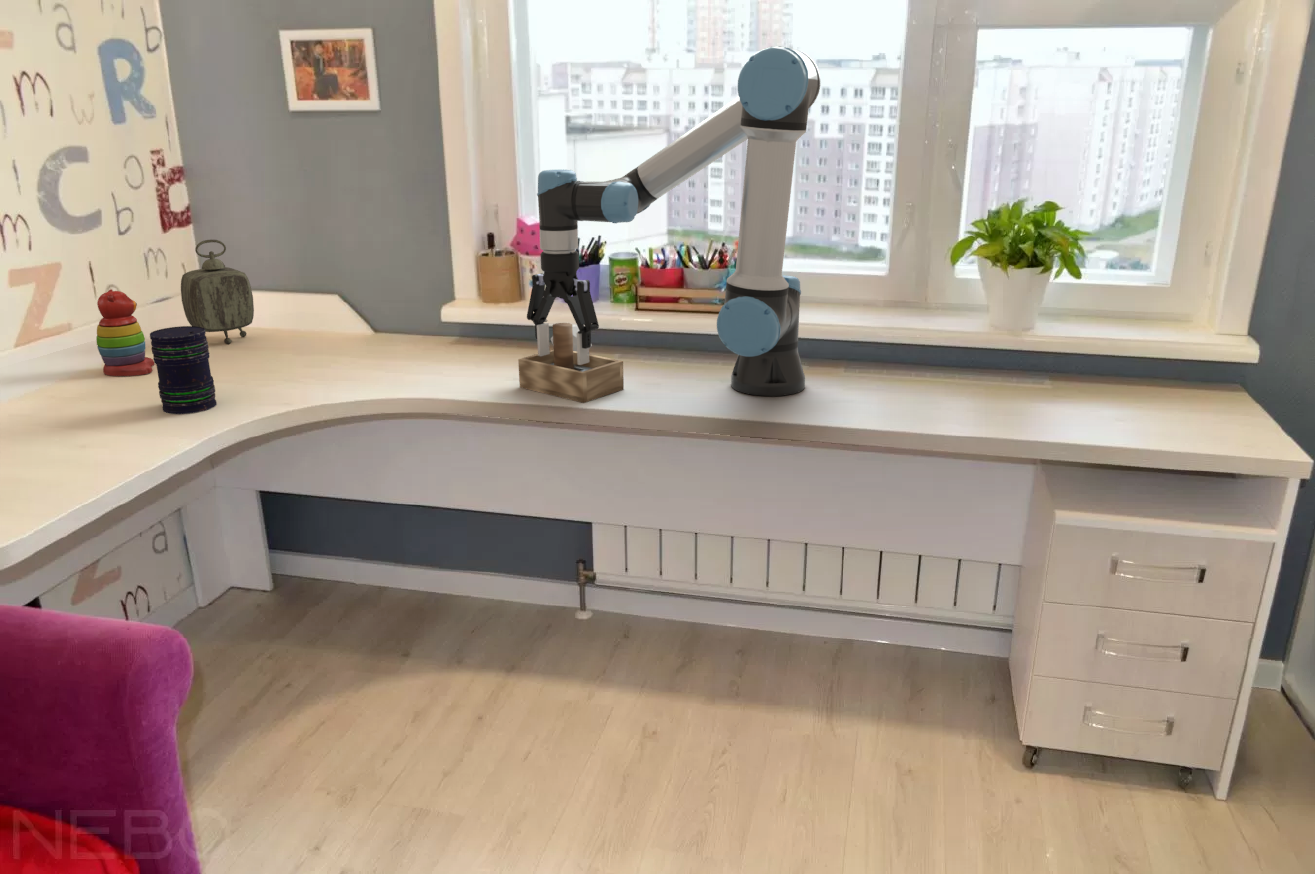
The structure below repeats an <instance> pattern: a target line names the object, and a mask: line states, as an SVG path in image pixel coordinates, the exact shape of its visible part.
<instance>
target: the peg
mask: <svg viewBox="0 0 1315 874" xmlns="http://www.w3.org/2000/svg"><path fill="white" fill-rule="evenodd" d="M572 324H573V323H570V322H568V323H567V322H557V323H553V324H552V336H553V344H552V347H553V349H552V350H554V365H555V366H560V367H564V368H569V369H573V370H574V360H573V330H572Z"/></svg>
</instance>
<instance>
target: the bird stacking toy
mask: <svg viewBox="0 0 1315 874" xmlns="http://www.w3.org/2000/svg"><path fill="white" fill-rule="evenodd" d="M96 304H97V309H98V311H99V313H100V315H101V316H102V318H101V319H99V322H98V324H97V327H96V346H97V351H98V353H99V355H100V358H101V359H102V362H103V363H104V365H103V369H102V372H103V374H104V375H106V376H110V377H111V376H112V377H134V376H135V377H136V376H145V375H148V374H151V373H152V372H153V368H152V367H153V366H155V363H154V360H153V358H152V357H147V356H146V348H147V347H146V341H145V340H146V338H145V335H144V332H143V330H142V328H141V325H140V323H139V321H138V319H137V318H136V317H135V316H134V315H133V314H134V312H135V311H136V310H137V306H138V304H137V301H136V300H134V299H131V298H130V297H129V296H128V295H127V294H126V293H124V292H123V291H120V290H113V289H111V288H110V289H108V291H106V292H103V294H101V295H100V296H99V297H98V299H97V303H96Z"/></svg>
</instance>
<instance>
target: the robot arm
mask: <svg viewBox="0 0 1315 874" xmlns="http://www.w3.org/2000/svg"><path fill="white" fill-rule="evenodd" d="M821 83H822V82H821V74H820V71H819V68H818V65H817V64H816V62H815V61H814V60H813V58H811V56H809V55H808V54H807V53H806V52H804V51H801V50H798V49H794V48H793V49H792V48H789V47H786V46H785V47H783V46H769V47H767V48H764V49H760V50H759V51H757V52H755V53H754V54H753V55H751V56H750V57H749V58H748V59H747V60H746V61H745V62H744V64H743V66H742V67H741V70H740V72H739V75H738V79H737V93H738V94H737V95H738V96H737V97H736V98H734V99H733V100H732V101H729V102H728V103H727V104H725V105H724V106H723V107H721V108H720V109H718V110H717V111H715V112H714V113H713V114H711V115H710V116H708V117H707V118H705V119H704V120H702V121H701V122H699V123H698V124H697V125H695V126H694V127H692V128H691V129H690V130H688V131H687V132H685V133H684V134H683V135H681V136H680V137H678V138H676V139H674V141H672V142H671V143H669V144H667V146H665V147H664V148H662V149H661V150H660V151H657V152H656V153H655V154H653V155H652V156H651V157H649V158H648V159H646V160H645V161H644V162H642V163H641V164H639V165H638V166H637V167H635V168H634V169H632V170H630V171H629V172H628V173H625V174H624V175H623V176H622V177H619V178H615V179H611V180H610V179H609V180H605V181H582V180H578V178H577V174H576V172H575V171H574V170H572V169H546V170H542V171H541V172H539V173H538V175H537V176H538V177H537V193H536V196H537V201H538V203H537V205H538V219H539V220H538V221H539V223H538V224H539V249H540V250H542V251H541V253H540V269H541V271H542V273H538V274H532V275H531V283H532V286H531V287H532V288H531V292H530V298H529V303H528V308H527V312H526V313H527V314H526V319H527V320H528V321H531V322H532V323H533V324H534V333H535V334H534V335H535V336H534V337H535V339H536V340H537V343H536V344H537V354H538V356H544V355H548V354H550V350H551V349H550V327H549V326H550V325H549V321H548V319H547V318H548V316H549V313H550V312H551V310H552V307H553V304H554V302H555V300H556V298H559V299H563V301H564V303H565V304H567V306H568V309H569V310H570V312H571V315H572V318H573V320H574V321H575V325H577V326H578V328H579V330H580V331H578V332H577V362H578V365H582V364H585V363H589V354H590V349H591V347H592V346H591V344H592V337H591V335H592V331H595V330H598V329H599V327H600V325H599V321H598V317H597V314H596V310H595V305H594V302H593V297H592V295H591V283H590V280H589V279H584V280H582V279H579V278H578V276H577V275H578V274H577V271H578V270H579V269H580V262H579V260H580V259H579V252H578V251H577V249H578V248H579V237H578V236H579V235H578V232H579V230H578V228H579V227H578V222H596V223H597V222H598V223H599V222H601V223H612V224H619V223H630V222H632V221H633V220H635V216H637V214H640V213H643V212H644V211H645V210H647V209H648V208H649V207H650V206H651V204H653V203H654V202H655V201H657V200H658V199H659V198H661V197H662V196H664V195H665V194H668V193H669V192H670V191H672V190H673V189H675V188H677V186H679V185H681V184H682V183H683V182H685V181H686V180H688V179H690V178H691V177H693V176H694V175H696V174H697V173H699V172H700V171H701V170H703V169H705V168H706V167H707V166H709V165H710V164H712V163H713V162H715V161H717V160H718V159H720V158H722V157H724V155H726V154H727V153H729V152H730V151H732V150H733V149H735V148H736V147H738V146H739V145H741V144H743V143H744V142H746V141H747V145H746V153H745V167H744V179H743V188H742V199H741V208H740V209H741V211H740V221H739V229H738V230H739V231H738V240H737V241H738V243H737V253H736V265H735V271H734V272H733V273H732V274H731V275H730V276H728V277H727V278H726V283H725V293H724V302H723V303H724V304H723V305H722V306H721V307H720V311H719V312H718V315H717V318H716V331H717V335H718V337H719V339H720V341H721V343H722V344H724V346H725V348H727V349H728V350H729V351H730V352H732V353H734V354H735V355H737V358H736V360H735V364H734V367H733V369H732V372H731V376H730V379H731V380H730V381H731V382H730V385H731V386H730V387H731V388H732V389H733V390H735V391H737V392H739V393H742V394H746V395H754V396H759V397H760V396H761V397H762V396H763V397H780V396H789V395H793V394H797V393H800V392H802V391H803V390H804V389H805V388H806V387H805V386H806V375H805V373H804V368H803V365H802V362H801V358H800V354H799V349H798V347H799V327H800V325H799V323H800V303H801V301H800V300H801V294H802V291H801V281H800V279H799V278H798V277H796V276H793V275H783V268H784V267H783V265H784V257H785V249H786V248H785V247H786V238H787V231H788V220H789V219H788V218H789V211H790V202H791V193H792V183H793V175H794V174H793V173H794V165H795V157H796V156H795V155H796V146H797V141H798V140H799V138H801V137H802V136H803V135H805V133H807V126H808V119H809V118H808V117H809V110H810V108H811V107H812V105H814V103H815V101H816V100H817V98H818V95H819V94H820V90H821ZM543 272H544V273H543Z"/></svg>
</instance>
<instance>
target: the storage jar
mask: <svg viewBox="0 0 1315 874" xmlns="http://www.w3.org/2000/svg"><path fill="white" fill-rule="evenodd" d="M206 334H207V332H205V328H203V327H197V326H191V325H186V326H185V325H183V326H181V325H179V326H170V327H165V328H160V329H157V330H154V331H151V332H150V333H149V338H150V340H151V341H150V344H151V353H152V356H153V358H152V359H153V361H154V365H156V370H157V371H156V372H157V375H158V383H157V388H158V390H159V391H158V393H159V394H158V395H159V398H160V399H161V400H160V401H161V404H162V411H163V412H164V413H166V414H170V415H190V414H196V413H200V412H205V411H206V412H207V411H209V410H211V409H214V408H215V407H216V406H217V405H218V403H217V400H216V386H215V383H214V376H213V375H212V373H211V367H210V361H209V359H210V351H209V348H210V347H209V341H208V339H207V336H206Z"/></svg>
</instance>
